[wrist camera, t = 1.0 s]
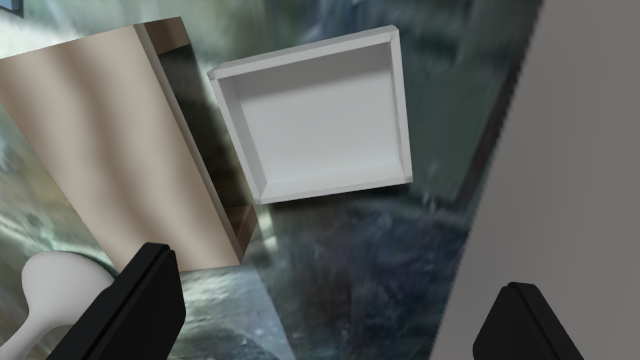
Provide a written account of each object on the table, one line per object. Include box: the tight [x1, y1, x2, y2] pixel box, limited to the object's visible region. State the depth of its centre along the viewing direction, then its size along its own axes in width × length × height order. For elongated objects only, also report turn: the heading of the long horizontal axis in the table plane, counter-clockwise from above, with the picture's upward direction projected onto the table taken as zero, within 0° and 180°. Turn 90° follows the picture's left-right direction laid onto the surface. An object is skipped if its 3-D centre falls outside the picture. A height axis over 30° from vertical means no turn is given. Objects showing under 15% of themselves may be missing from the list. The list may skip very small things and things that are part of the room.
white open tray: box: [207, 25, 413, 205], centre depth 28 cm, size 14×12×4 cm
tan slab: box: [0, 17, 258, 273], centre depth 29 cm, size 12×20×7 cm, turn 12°
